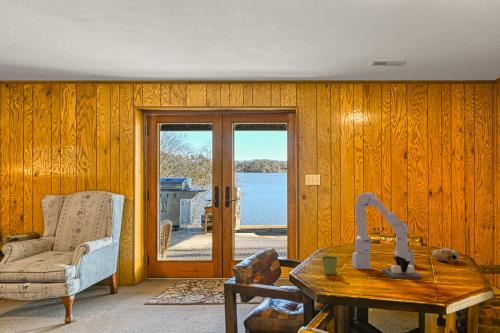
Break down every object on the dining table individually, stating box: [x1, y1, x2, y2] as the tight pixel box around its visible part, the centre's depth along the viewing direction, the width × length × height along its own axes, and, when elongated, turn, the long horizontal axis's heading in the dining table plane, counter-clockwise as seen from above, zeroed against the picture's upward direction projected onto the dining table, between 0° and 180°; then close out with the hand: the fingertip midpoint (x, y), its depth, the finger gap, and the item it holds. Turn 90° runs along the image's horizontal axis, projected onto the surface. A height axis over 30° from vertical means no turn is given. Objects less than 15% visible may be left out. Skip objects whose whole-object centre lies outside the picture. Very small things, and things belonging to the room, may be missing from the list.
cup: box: [408, 248, 415, 267], centre depth 204 cm, size 7×10×9 cm
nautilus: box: [431, 247, 460, 266], centre depth 210 cm, size 8×21×15 cm
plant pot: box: [320, 255, 339, 276], centre depth 187 cm, size 9×9×9 cm
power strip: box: [390, 264, 415, 274], centre depth 183 cm, size 11×4×5 cm, turn 92°
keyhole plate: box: [381, 268, 422, 279], centre depth 185 cm, size 16×12×2 cm
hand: (402, 271), depth 183 cm, fingers closed on power strip, 3 cm apart
